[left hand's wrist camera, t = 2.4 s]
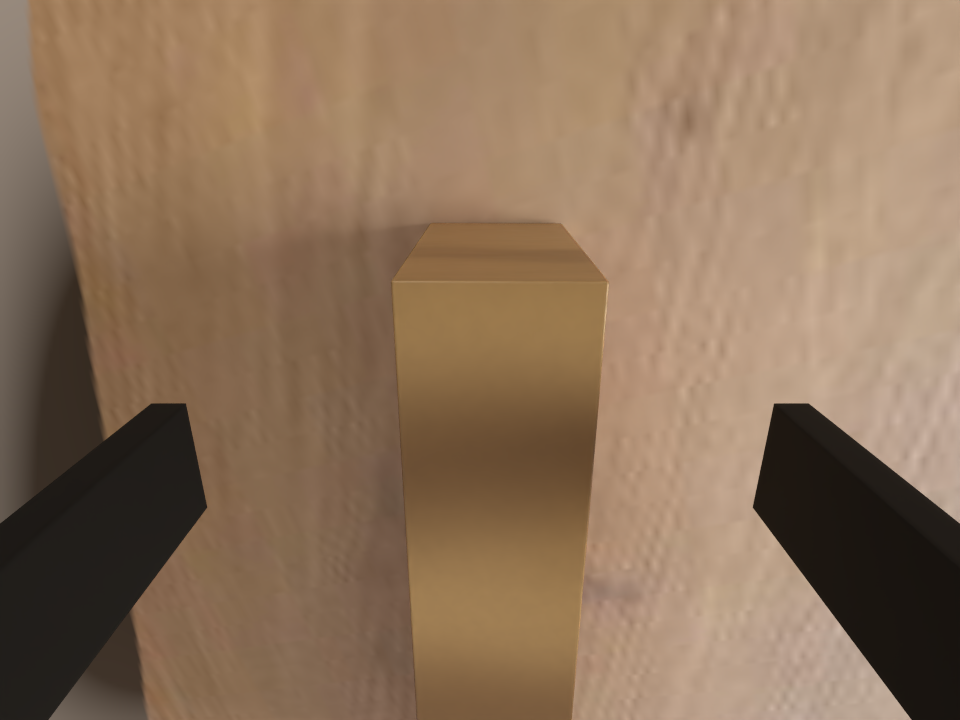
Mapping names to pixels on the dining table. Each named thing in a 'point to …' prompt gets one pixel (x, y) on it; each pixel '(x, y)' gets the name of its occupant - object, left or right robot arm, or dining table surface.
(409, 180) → the dining table surface
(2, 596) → the left robot arm
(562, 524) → the bar
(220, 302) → the dining table surface
